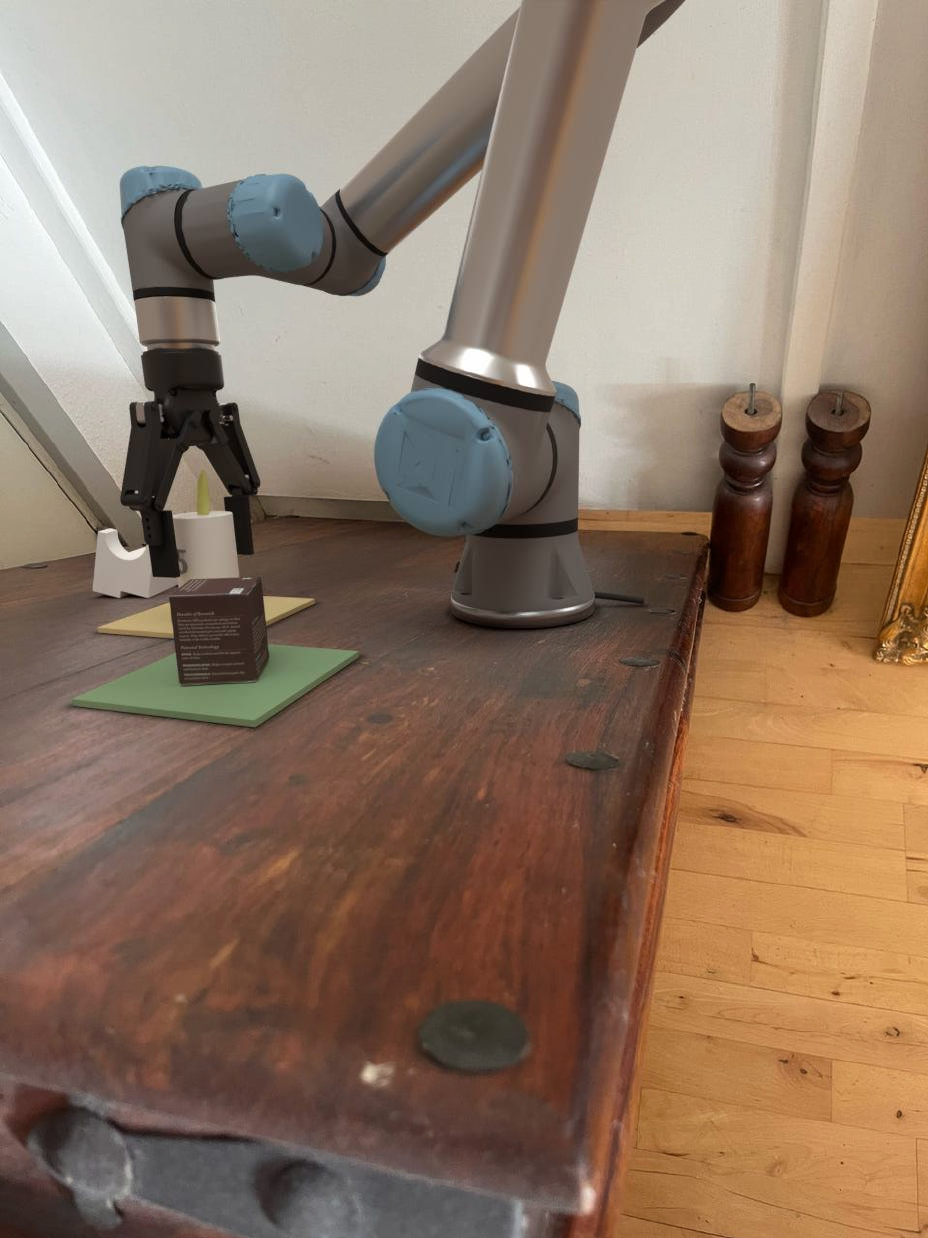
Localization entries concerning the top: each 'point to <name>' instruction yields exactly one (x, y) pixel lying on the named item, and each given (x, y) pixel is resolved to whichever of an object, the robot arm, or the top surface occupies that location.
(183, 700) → the green mat
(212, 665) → the box
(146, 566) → the bracket
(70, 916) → the top surface
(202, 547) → the candle
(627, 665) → the top surface
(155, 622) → the cream mat
